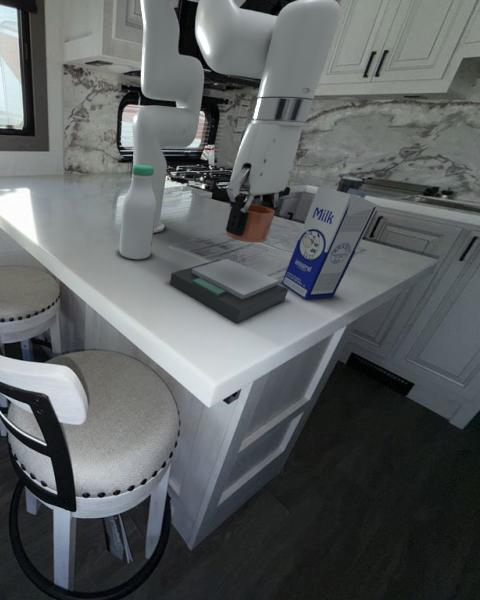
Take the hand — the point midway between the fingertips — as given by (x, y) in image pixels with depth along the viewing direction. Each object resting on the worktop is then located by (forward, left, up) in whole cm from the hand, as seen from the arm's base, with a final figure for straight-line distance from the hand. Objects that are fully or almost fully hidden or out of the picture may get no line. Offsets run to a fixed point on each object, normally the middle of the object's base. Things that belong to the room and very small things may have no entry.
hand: (247, 229), depth 55 cm
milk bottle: (-24, -5, -13) cm, 28 cm away
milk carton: (+8, +15, -13) cm, 21 cm away
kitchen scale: (0, -1, -12) cm, 13 cm away
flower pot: (0, 0, -1) cm, 1 cm away
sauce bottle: (+1, +33, -13) cm, 35 cm away
